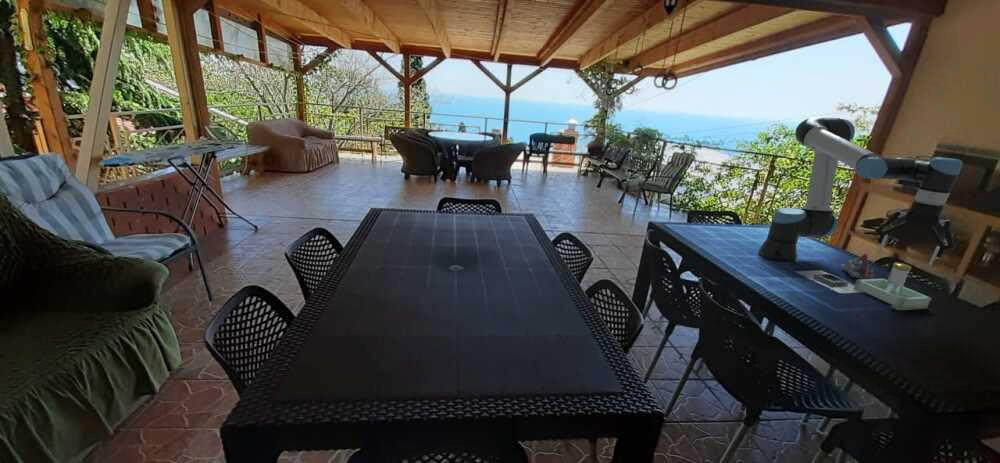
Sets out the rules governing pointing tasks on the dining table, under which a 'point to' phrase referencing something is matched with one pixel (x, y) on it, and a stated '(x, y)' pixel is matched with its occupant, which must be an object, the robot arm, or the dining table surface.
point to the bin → (902, 302)
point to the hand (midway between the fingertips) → (904, 257)
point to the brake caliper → (858, 268)
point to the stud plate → (830, 281)
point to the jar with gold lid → (897, 278)
